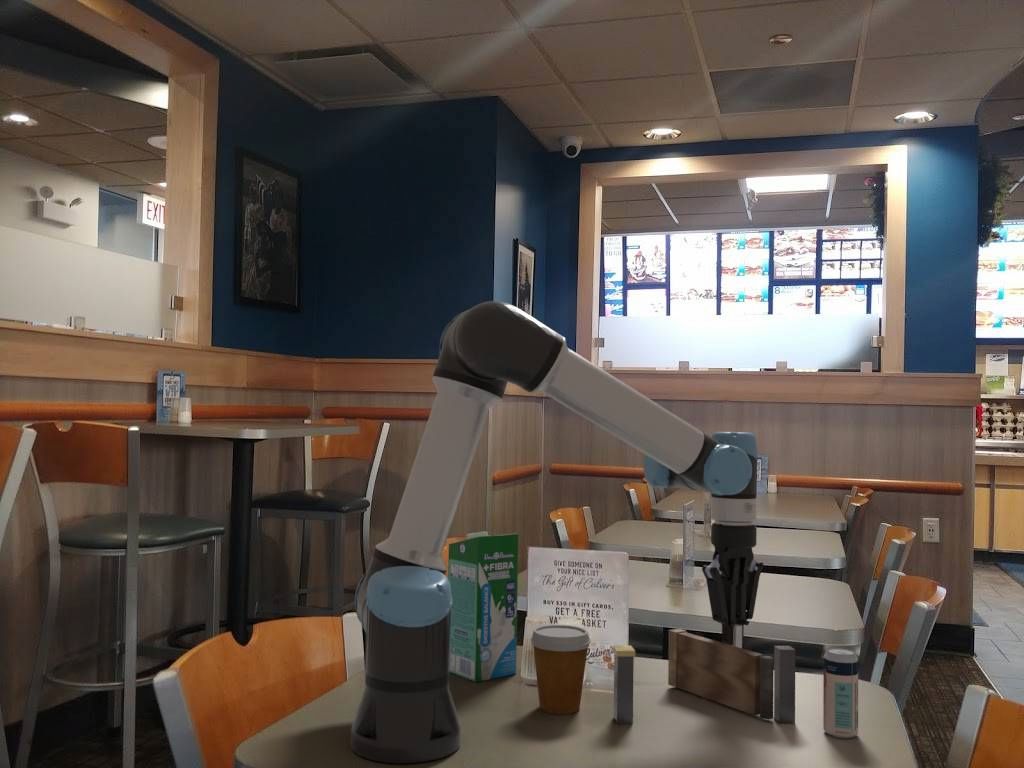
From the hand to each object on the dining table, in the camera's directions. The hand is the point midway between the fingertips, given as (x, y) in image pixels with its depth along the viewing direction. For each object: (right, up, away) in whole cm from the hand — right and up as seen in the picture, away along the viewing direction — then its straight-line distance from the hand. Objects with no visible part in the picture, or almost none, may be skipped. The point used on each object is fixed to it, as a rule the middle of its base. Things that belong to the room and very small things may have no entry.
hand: (732, 663), depth 152 cm
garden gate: (-4, -4, -6) cm, 9 cm away
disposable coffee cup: (-30, -4, -10) cm, 32 cm away
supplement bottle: (+11, -4, -20) cm, 23 cm away
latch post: (-20, -4, -16) cm, 26 cm away
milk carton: (-43, -5, +9) cm, 44 cm away
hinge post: (+4, -4, -15) cm, 16 cm away
